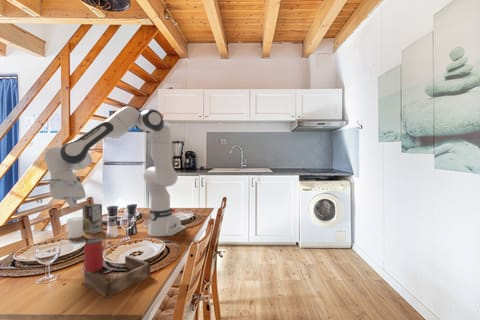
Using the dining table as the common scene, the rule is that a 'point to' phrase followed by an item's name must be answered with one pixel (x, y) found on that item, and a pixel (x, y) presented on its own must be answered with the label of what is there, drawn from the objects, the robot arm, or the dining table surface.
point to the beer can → (93, 255)
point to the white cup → (75, 227)
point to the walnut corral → (119, 278)
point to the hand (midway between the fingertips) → (74, 207)
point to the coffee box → (92, 218)
